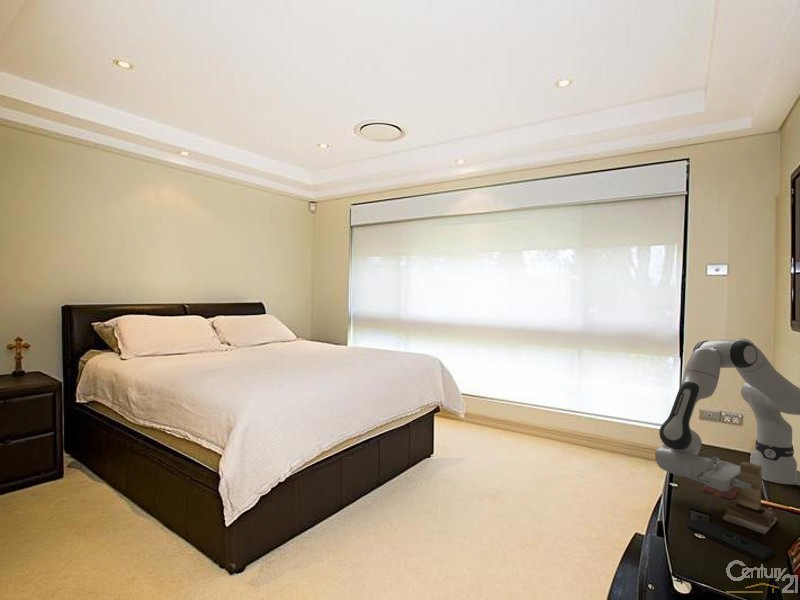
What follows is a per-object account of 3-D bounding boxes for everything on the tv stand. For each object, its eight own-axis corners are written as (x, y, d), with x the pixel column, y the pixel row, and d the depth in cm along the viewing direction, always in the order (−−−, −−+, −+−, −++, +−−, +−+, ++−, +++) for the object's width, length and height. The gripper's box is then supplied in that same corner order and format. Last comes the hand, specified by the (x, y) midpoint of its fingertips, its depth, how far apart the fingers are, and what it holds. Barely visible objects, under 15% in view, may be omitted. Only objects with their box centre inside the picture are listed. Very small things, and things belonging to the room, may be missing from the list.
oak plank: (742, 501, 148) (743, 461, 148) (760, 507, 144) (761, 465, 144) (739, 504, 146) (740, 463, 146) (757, 510, 142) (759, 468, 142)
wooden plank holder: (736, 507, 154) (737, 496, 154) (776, 520, 145) (777, 508, 145) (723, 519, 146) (723, 507, 146) (764, 534, 137) (765, 521, 137)
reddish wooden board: (733, 502, 159) (733, 498, 159) (700, 493, 166) (700, 489, 166) (744, 480, 178) (744, 476, 178) (714, 473, 185) (714, 469, 185)
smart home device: (762, 557, 123) (686, 524, 140) (761, 563, 123) (686, 529, 140) (774, 548, 127) (699, 517, 144) (774, 554, 127) (699, 523, 144)
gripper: (694, 468, 149) (744, 483, 138) (715, 456, 162) (763, 468, 151) (693, 486, 149) (743, 502, 138) (715, 472, 162) (762, 486, 151)
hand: (753, 484), depth 145 cm, fingers closed on oak plank, 3 cm apart
